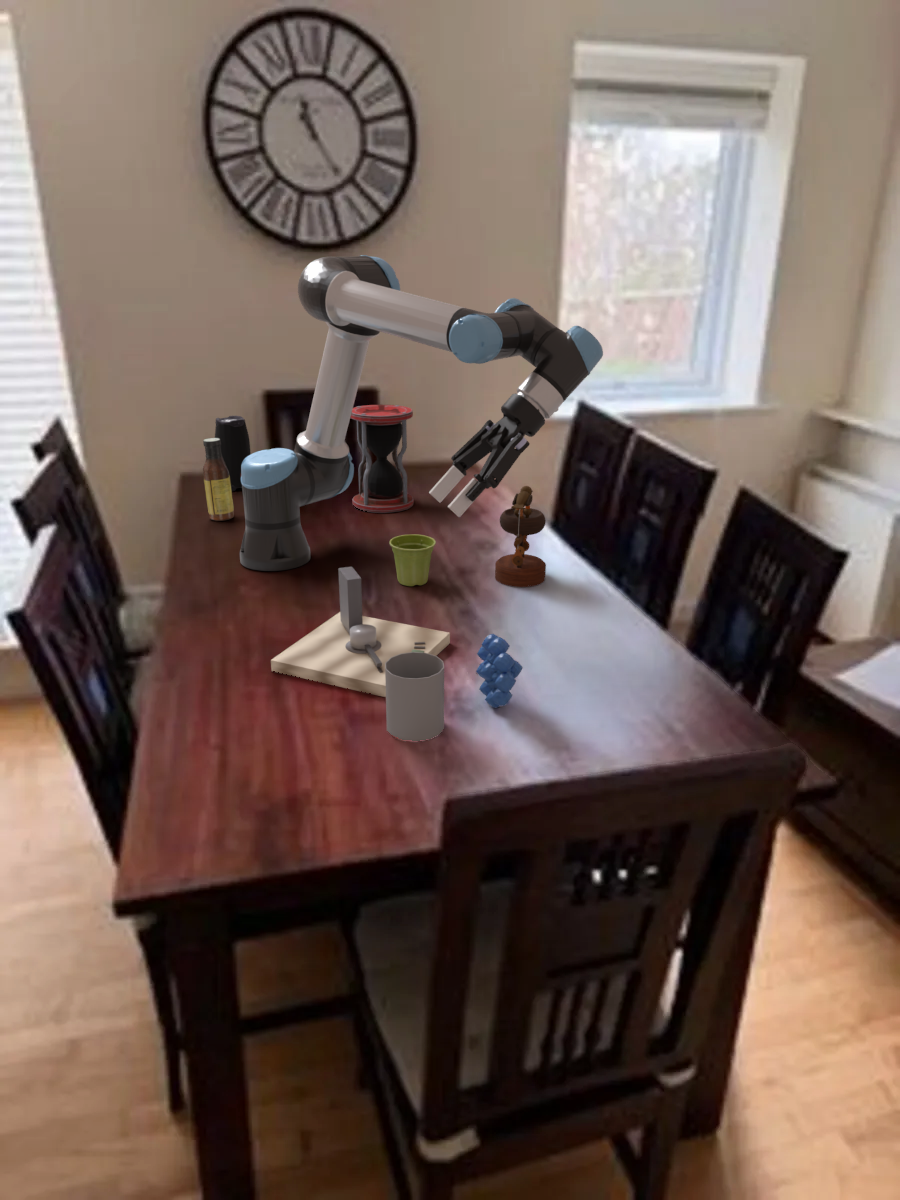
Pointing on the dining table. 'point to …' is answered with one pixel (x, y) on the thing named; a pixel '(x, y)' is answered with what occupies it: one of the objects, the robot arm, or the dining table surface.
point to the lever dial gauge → (355, 613)
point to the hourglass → (382, 458)
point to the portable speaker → (233, 445)
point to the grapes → (497, 671)
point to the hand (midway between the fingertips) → (443, 504)
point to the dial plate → (355, 653)
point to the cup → (414, 696)
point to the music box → (521, 543)
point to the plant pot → (412, 558)
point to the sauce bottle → (217, 482)
